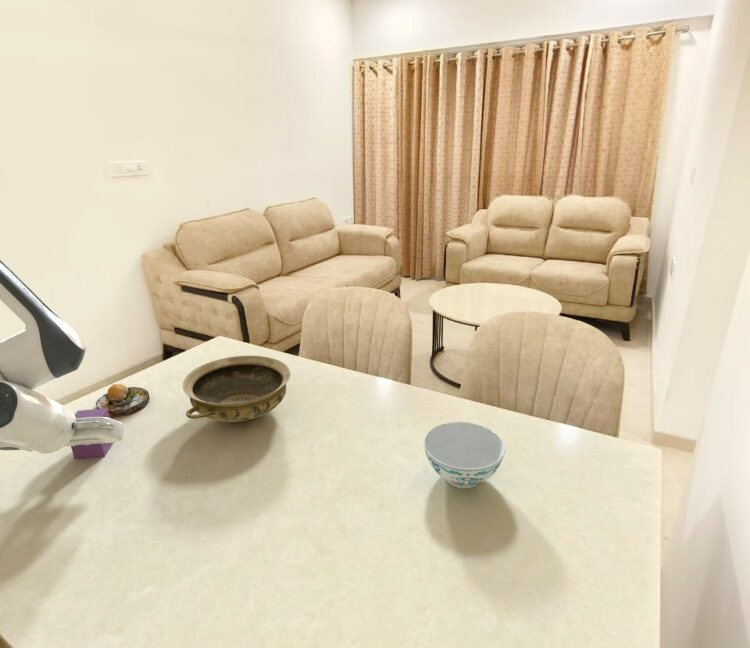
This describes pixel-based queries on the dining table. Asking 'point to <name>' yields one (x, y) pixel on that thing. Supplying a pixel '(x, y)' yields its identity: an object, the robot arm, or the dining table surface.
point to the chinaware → (464, 452)
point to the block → (91, 449)
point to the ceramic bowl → (236, 388)
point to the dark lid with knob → (123, 400)
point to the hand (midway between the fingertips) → (82, 441)
